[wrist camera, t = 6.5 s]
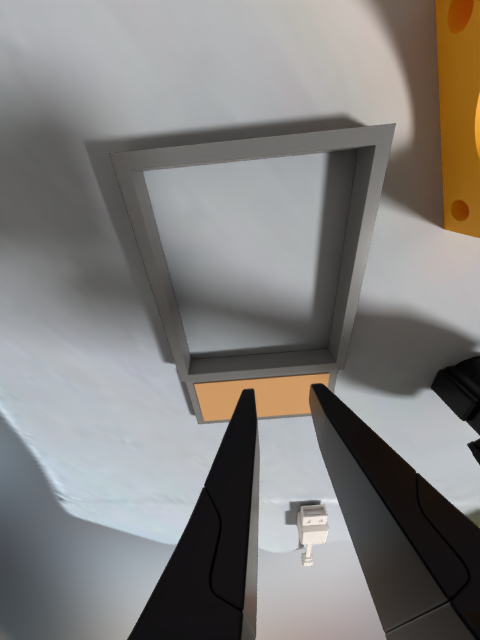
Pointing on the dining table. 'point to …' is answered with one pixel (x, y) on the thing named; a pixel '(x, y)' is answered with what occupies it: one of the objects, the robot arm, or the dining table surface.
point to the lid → (257, 395)
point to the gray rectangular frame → (366, 178)
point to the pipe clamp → (459, 112)
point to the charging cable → (311, 529)
